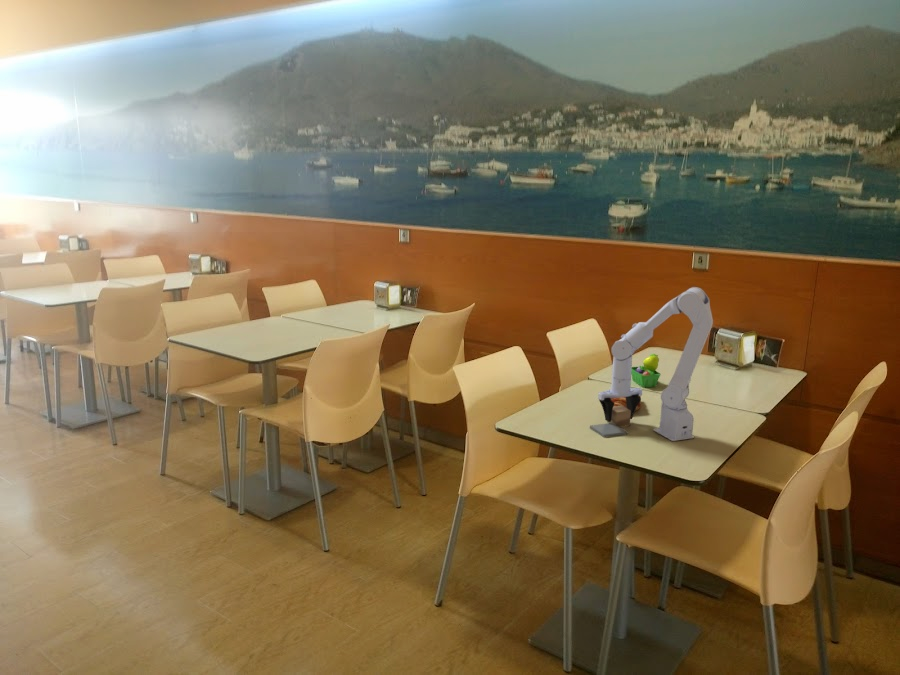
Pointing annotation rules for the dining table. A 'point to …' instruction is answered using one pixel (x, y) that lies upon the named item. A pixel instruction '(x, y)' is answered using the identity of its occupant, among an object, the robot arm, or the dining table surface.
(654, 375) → the fruit basket
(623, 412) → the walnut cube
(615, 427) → the slate coaster
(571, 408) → the dining table surface
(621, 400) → the croissant
